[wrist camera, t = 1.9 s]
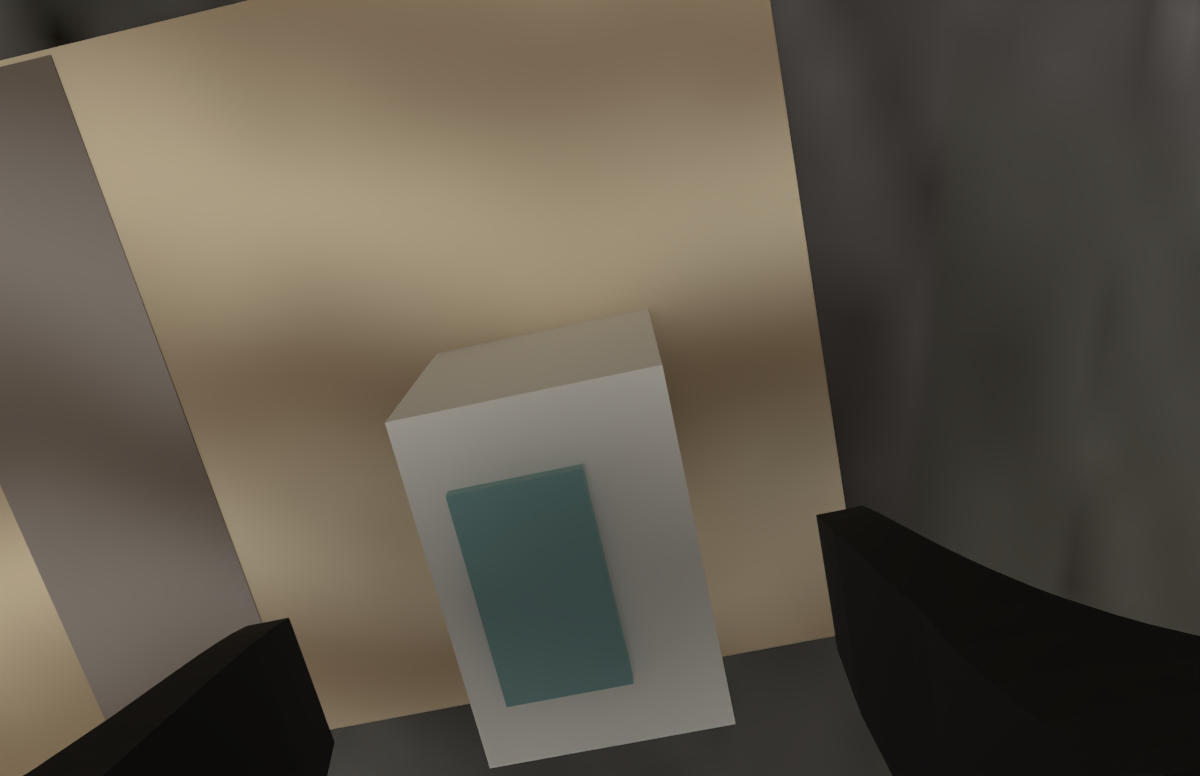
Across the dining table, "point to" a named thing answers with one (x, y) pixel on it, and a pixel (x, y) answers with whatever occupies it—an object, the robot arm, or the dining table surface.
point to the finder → (563, 539)
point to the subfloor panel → (372, 321)
